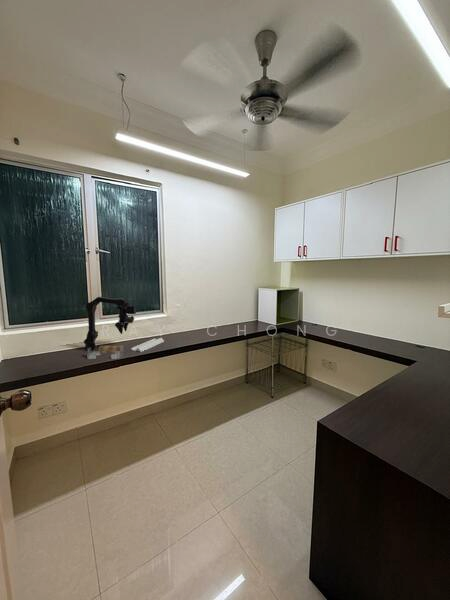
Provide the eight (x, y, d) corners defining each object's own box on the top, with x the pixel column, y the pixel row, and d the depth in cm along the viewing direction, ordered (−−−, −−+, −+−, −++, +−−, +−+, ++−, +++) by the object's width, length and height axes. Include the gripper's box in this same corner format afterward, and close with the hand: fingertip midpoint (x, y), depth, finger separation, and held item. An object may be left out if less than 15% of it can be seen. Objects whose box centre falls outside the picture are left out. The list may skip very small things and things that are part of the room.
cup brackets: (86, 358, 184) (85, 349, 184) (91, 354, 193) (91, 346, 192) (120, 358, 185) (119, 349, 184) (124, 354, 194) (123, 346, 193)
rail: (98, 353, 197) (98, 347, 196) (101, 351, 201) (100, 345, 200) (121, 353, 197) (121, 347, 197) (123, 351, 201) (123, 345, 201)
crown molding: (154, 340, 233) (154, 336, 233) (164, 342, 229) (164, 338, 228) (130, 350, 204) (130, 346, 204) (141, 352, 200) (141, 348, 200)
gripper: (128, 316, 193) (129, 335, 195) (136, 311, 211) (137, 329, 214) (114, 316, 193) (115, 335, 195) (123, 311, 211) (124, 329, 213)
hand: (123, 332), depth 204 cm, fingers open, 9 cm apart
